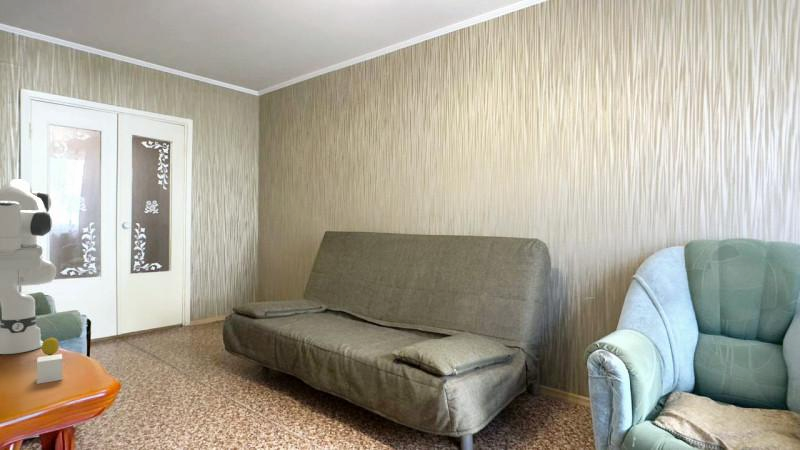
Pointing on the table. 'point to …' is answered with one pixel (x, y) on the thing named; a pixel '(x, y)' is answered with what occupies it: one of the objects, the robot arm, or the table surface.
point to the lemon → (50, 346)
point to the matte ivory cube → (49, 368)
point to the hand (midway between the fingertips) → (5, 282)
